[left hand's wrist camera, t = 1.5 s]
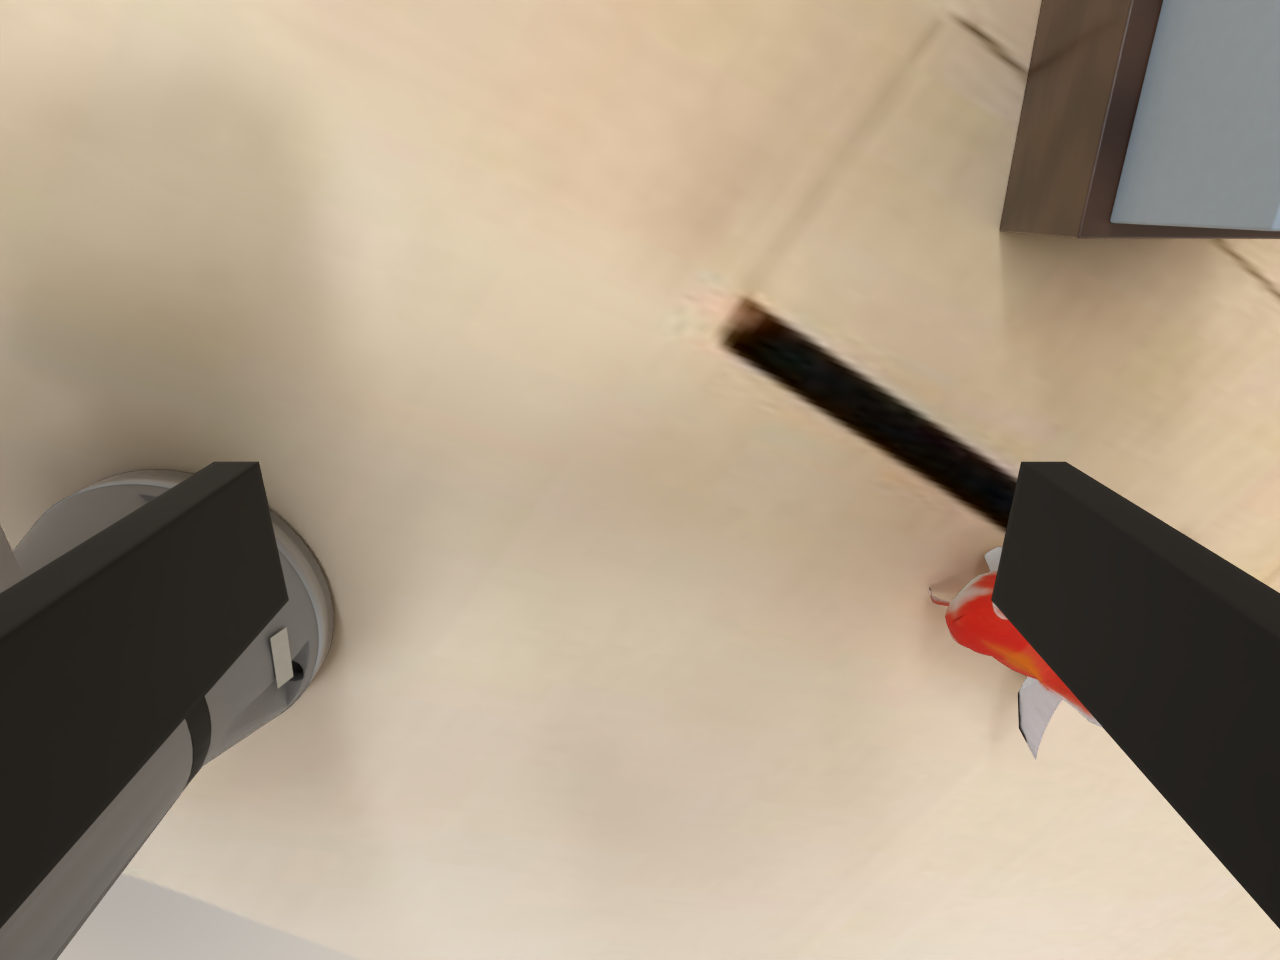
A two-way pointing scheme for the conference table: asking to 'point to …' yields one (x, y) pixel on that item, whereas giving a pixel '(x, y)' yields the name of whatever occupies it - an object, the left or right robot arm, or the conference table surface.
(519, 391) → the conference table surface
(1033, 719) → the fish
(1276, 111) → the cap block
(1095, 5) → the walnut base
